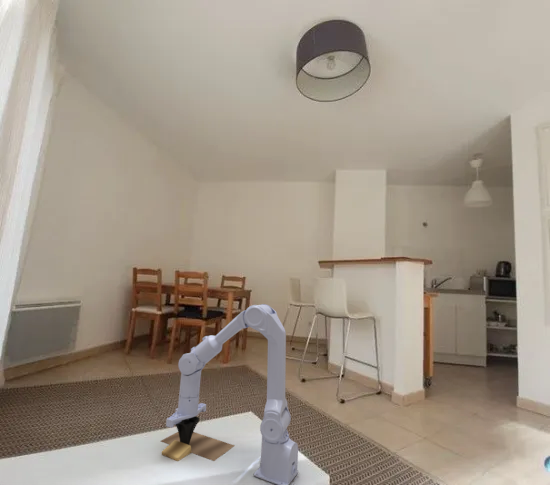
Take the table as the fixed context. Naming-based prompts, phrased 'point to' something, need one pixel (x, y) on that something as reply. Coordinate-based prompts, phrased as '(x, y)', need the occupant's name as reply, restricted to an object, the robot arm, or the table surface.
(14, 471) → the table surface
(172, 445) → the tile
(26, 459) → the table surface
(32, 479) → the table surface
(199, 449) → the deck
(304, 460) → the table surface
